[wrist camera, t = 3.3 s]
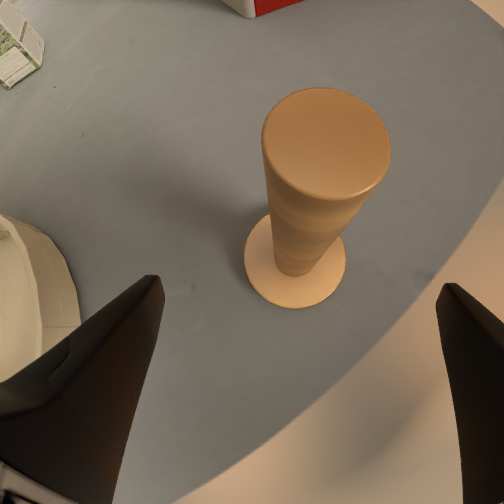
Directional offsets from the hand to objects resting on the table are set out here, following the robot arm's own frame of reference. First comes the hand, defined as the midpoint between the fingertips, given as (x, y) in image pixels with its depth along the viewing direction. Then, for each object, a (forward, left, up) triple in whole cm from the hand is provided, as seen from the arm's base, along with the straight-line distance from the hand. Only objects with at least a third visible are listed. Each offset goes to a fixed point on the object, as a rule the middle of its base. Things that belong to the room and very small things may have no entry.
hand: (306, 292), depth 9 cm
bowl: (+9, +21, -10) cm, 25 cm away
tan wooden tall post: (+2, -1, -10) cm, 10 cm away
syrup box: (+38, +13, -10) cm, 41 cm away
